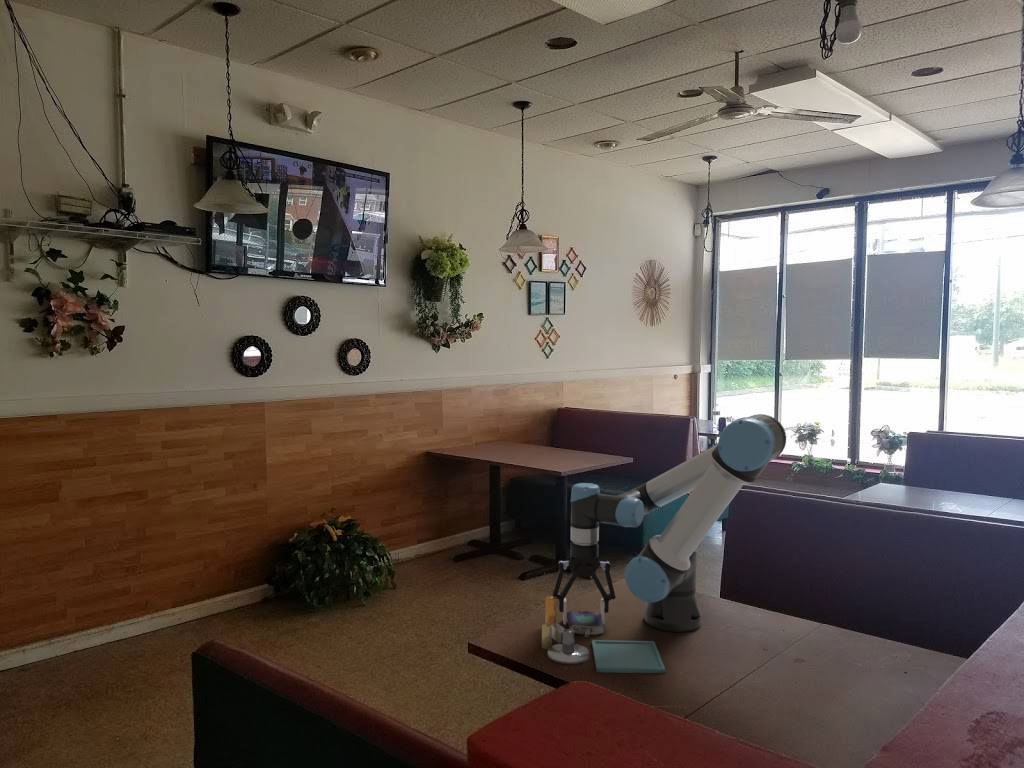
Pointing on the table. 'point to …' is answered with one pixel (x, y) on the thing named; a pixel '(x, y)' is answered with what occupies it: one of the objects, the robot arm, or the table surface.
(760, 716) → the table surface
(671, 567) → the robot arm
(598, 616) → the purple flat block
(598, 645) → the tray
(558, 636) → the crank
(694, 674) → the table surface
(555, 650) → the crank base
